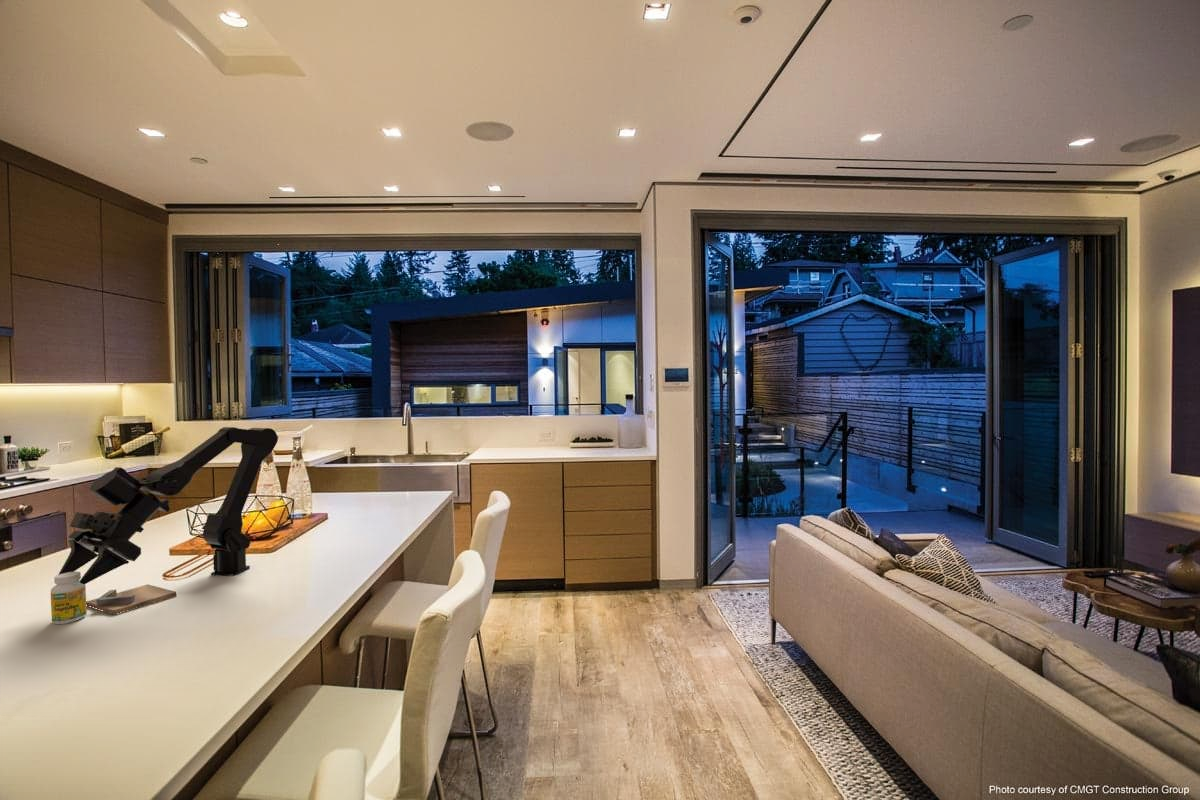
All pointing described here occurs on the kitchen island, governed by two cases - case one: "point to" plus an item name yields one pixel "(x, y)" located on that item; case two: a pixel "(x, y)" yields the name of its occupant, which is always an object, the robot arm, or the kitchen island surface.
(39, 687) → the kitchen island surface
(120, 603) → the square wooden base plate
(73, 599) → the supplement bottle
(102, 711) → the kitchen island surface
